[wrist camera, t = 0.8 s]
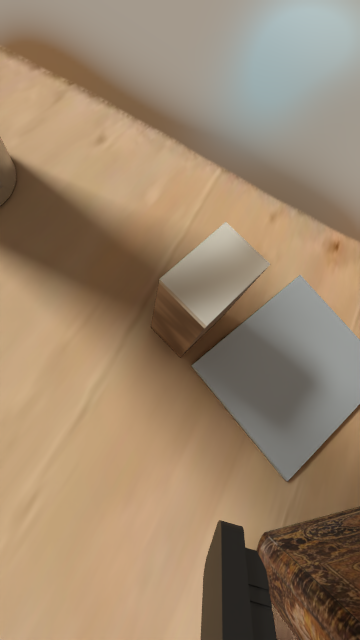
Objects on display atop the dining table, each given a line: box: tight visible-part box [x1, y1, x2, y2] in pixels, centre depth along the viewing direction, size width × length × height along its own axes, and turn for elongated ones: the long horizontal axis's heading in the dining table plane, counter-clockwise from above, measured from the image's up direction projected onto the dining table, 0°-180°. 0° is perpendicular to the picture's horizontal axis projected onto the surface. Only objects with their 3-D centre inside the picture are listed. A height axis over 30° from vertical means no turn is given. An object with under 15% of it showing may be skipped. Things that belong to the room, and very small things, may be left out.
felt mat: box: [191, 275, 360, 481], centre depth 31 cm, size 13×15×1 cm
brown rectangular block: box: [151, 222, 270, 357], centre depth 26 cm, size 4×6×12 cm, turn 135°
